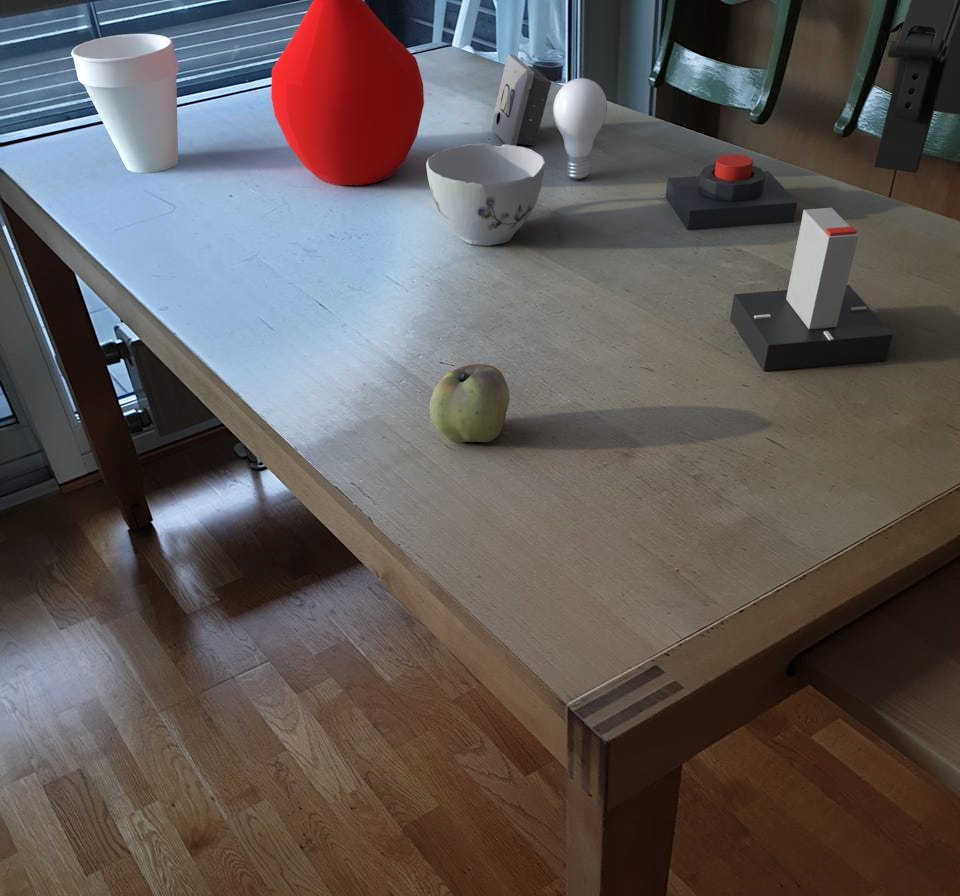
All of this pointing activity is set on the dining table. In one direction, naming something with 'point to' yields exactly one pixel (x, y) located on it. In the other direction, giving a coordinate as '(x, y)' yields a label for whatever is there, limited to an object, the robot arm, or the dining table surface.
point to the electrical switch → (520, 103)
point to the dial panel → (807, 333)
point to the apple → (470, 404)
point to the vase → (347, 94)
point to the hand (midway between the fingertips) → (919, 138)
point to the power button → (733, 167)
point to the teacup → (485, 189)
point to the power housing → (729, 200)
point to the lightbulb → (579, 121)
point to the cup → (134, 96)
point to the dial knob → (821, 267)
